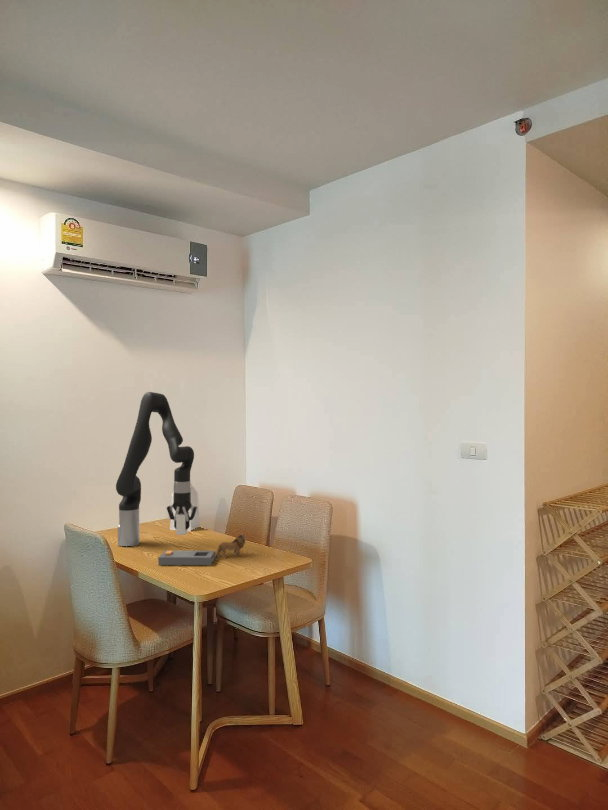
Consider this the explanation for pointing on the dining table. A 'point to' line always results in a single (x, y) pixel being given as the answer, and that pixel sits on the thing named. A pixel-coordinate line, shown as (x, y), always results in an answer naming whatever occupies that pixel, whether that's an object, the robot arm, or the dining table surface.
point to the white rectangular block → (181, 524)
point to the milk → (194, 502)
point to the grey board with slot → (186, 558)
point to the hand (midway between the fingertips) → (181, 528)
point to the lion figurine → (232, 546)
